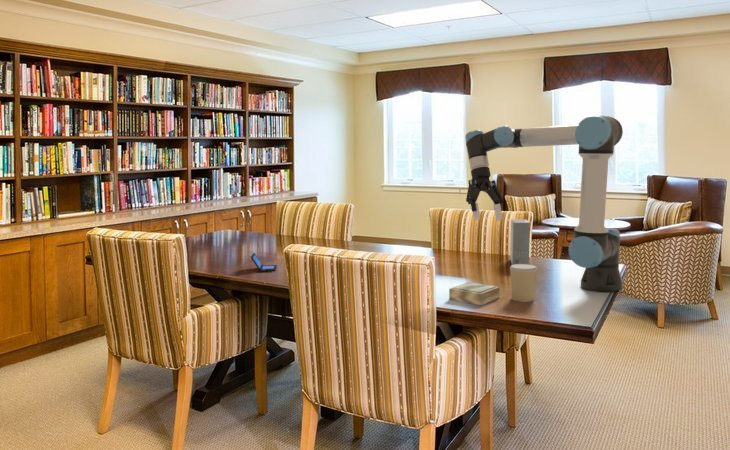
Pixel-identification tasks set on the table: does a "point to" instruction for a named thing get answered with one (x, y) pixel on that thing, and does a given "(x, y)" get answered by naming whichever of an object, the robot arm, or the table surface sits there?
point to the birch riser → (474, 293)
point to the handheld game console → (260, 266)
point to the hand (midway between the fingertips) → (488, 219)
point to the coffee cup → (523, 282)
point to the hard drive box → (519, 241)
